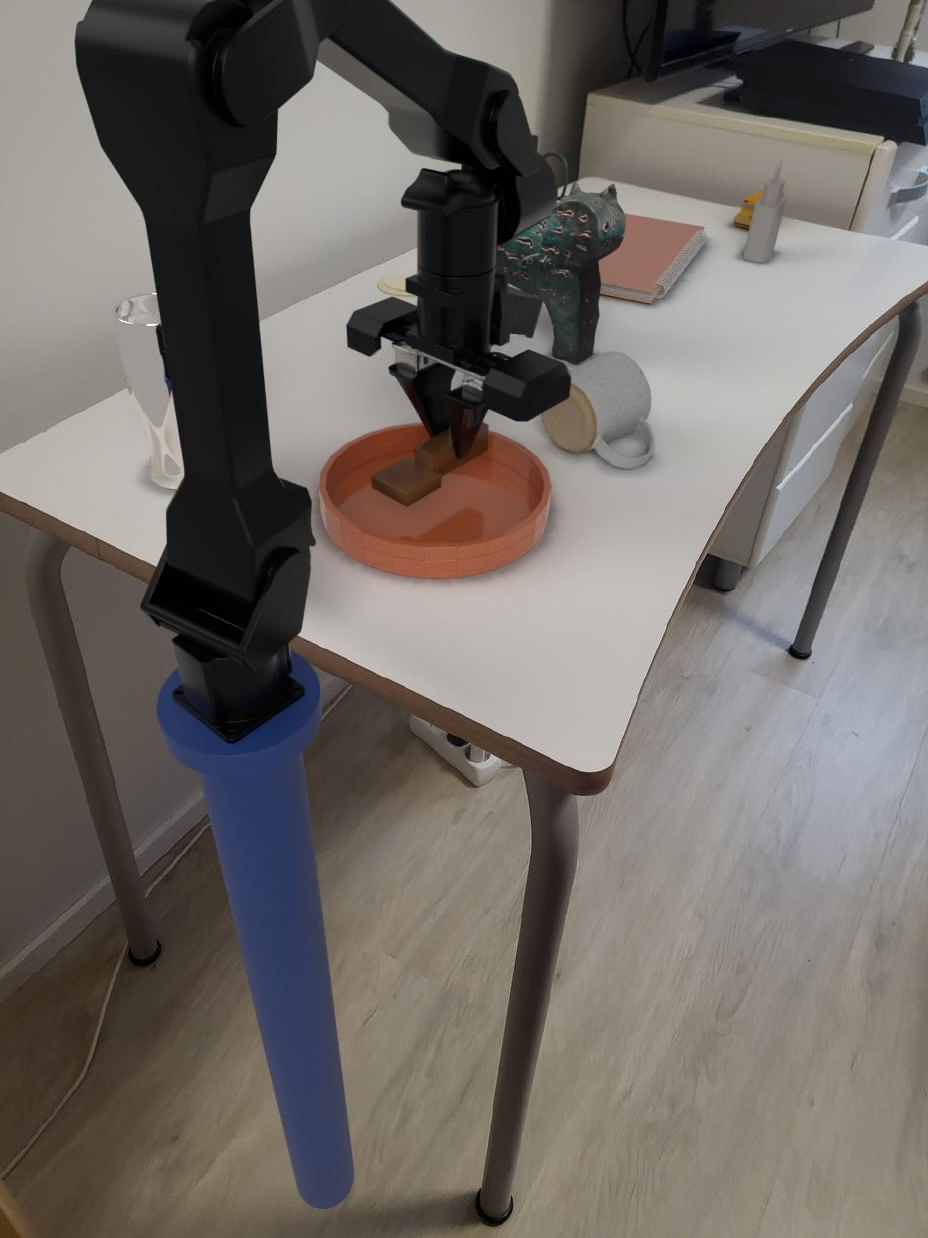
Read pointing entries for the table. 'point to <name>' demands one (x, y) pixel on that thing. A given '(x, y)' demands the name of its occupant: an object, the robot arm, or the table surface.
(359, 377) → the table surface
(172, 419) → the beer glass
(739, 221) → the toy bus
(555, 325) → the ceramic cat
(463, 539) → the bowl
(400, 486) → the stepped brown block
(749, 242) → the grey nozzle bottle
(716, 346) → the table surface
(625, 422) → the ceramic mug
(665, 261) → the notebook
